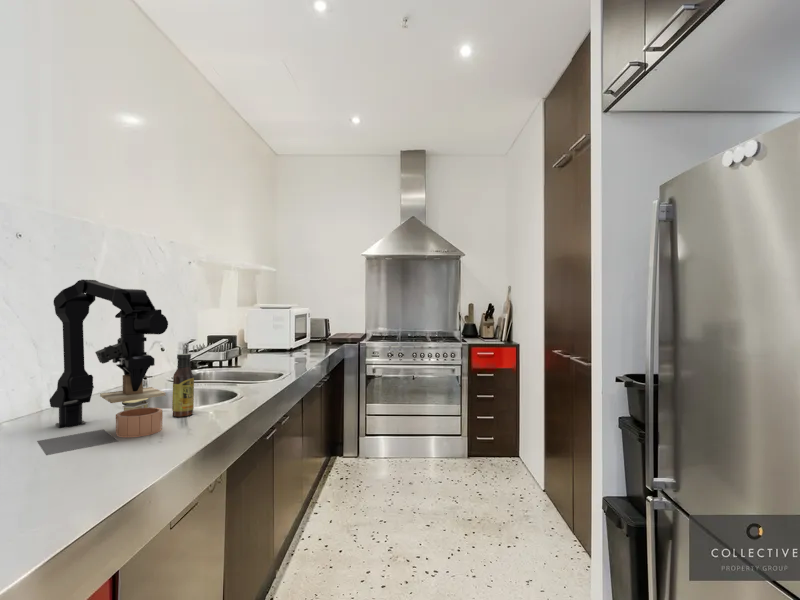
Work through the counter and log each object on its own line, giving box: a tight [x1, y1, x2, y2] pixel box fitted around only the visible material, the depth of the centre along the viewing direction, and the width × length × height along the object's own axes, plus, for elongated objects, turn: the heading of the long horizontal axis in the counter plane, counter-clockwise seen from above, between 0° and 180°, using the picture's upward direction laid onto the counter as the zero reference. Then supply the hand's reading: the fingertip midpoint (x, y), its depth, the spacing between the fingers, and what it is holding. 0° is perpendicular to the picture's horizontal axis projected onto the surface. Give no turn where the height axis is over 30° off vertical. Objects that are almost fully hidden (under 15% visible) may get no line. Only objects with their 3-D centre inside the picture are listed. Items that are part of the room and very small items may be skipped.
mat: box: [36, 428, 119, 456], centre depth 117 cm, size 16×15×1 cm
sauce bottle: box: [171, 353, 195, 418], centre depth 146 cm, size 6×6×20 cm
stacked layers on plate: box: [121, 398, 150, 411], centre depth 145 cm, size 10×9×6 cm
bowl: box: [115, 406, 163, 438], centre depth 126 cm, size 11×11×6 cm
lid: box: [99, 374, 167, 404], centre depth 125 cm, size 13×13×6 cm
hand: (133, 390), depth 125 cm, fingers closed on lid, 4 cm apart
